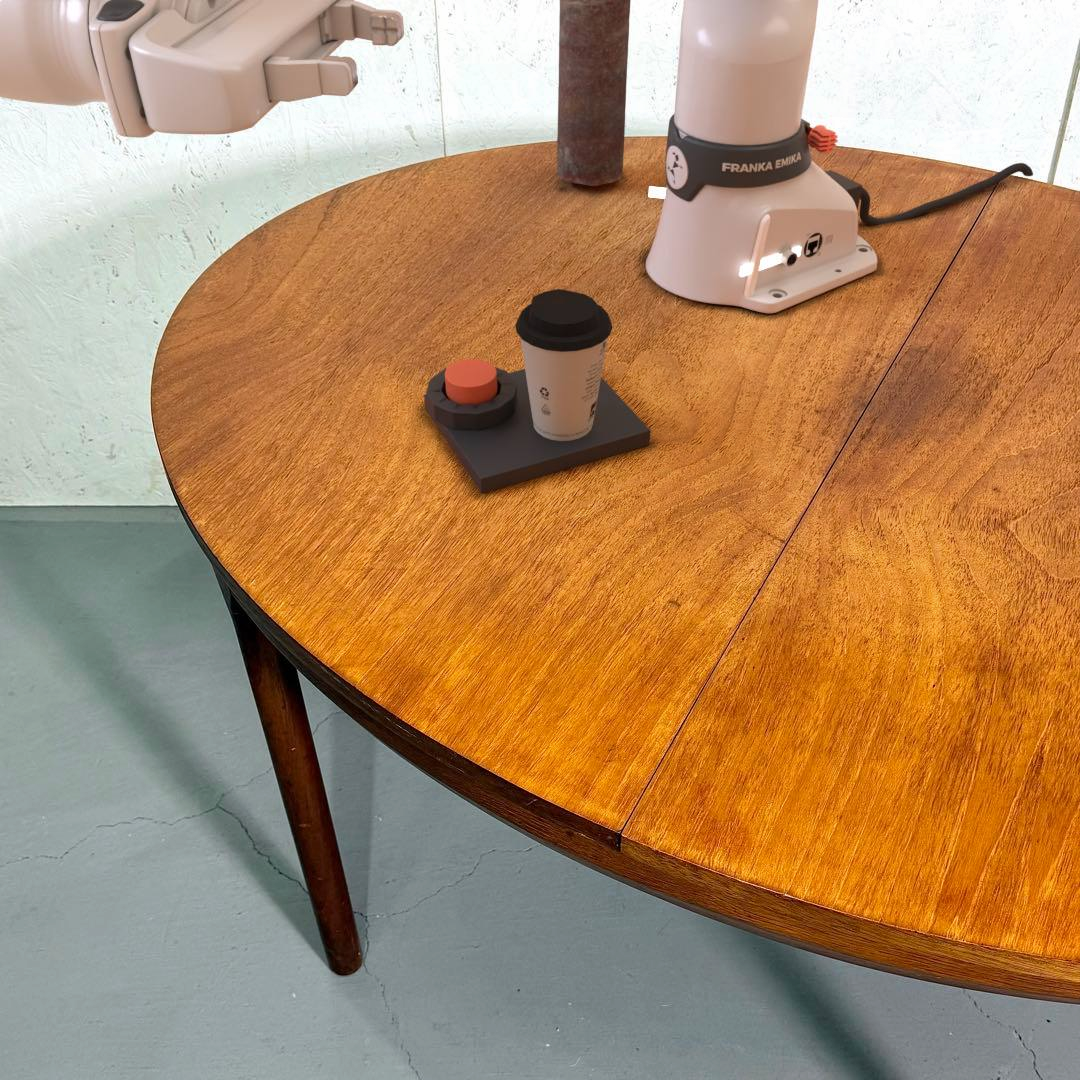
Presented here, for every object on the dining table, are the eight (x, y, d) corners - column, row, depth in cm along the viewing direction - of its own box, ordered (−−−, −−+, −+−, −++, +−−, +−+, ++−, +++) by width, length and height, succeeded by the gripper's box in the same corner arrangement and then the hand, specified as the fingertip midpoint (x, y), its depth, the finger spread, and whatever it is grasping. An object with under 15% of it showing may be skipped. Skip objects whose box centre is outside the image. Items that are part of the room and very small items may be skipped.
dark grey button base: (578, 366, 90) (578, 335, 88) (649, 445, 82) (652, 412, 80) (417, 407, 86) (414, 375, 84) (475, 495, 77) (473, 462, 75)
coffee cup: (626, 431, 81) (633, 314, 74) (548, 461, 78) (548, 342, 71) (575, 388, 85) (578, 274, 79) (500, 415, 82) (496, 299, 76)
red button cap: (485, 372, 85) (484, 353, 84) (505, 398, 82) (504, 379, 81) (438, 384, 84) (437, 365, 82) (457, 411, 81) (455, 391, 80)
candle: (617, 198, 115) (625, -2, 102) (550, 193, 116) (551, -6, 103) (626, 170, 121) (636, -23, 108) (563, 165, 122) (565, -26, 109)
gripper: (244, 41, 77) (427, 52, 75) (106, 148, 62) (329, 165, 60) (227, -56, 73) (420, -47, 71) (74, 34, 58) (313, 48, 56)
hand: (378, 51), depth 66 cm, fingers open, 8 cm apart
